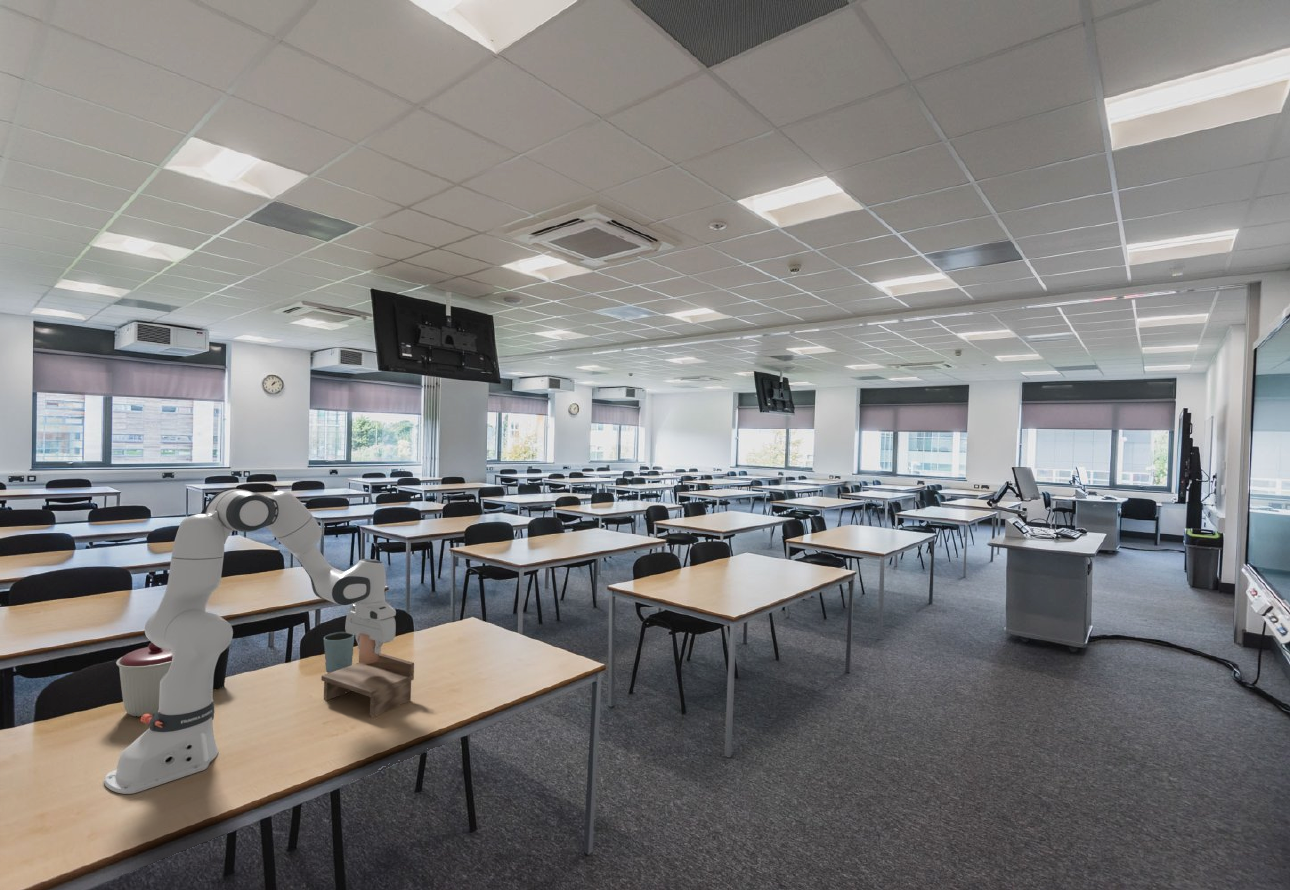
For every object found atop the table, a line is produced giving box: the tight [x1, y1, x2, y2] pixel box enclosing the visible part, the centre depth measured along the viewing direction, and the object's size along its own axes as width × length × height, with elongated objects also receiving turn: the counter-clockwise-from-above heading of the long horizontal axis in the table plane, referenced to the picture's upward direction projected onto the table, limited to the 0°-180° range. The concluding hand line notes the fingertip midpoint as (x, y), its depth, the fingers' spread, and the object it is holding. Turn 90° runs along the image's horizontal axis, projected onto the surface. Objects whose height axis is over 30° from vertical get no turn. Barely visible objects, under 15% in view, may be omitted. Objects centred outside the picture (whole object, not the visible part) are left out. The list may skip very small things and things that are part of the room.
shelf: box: [320, 652, 415, 718], centre depth 193 cm, size 16×24×12 cm, turn 62°
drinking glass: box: [323, 631, 355, 673], centre depth 218 cm, size 10×10×12 cm
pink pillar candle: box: [358, 633, 379, 664], centre depth 193 cm, size 6×6×9 cm
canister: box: [115, 641, 172, 718], centre depth 181 cm, size 18×18×21 cm
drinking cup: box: [213, 643, 231, 691], centre depth 198 cm, size 8×8×20 cm
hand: (369, 650), depth 193 cm, fingers closed on pink pillar candle, 6 cm apart
